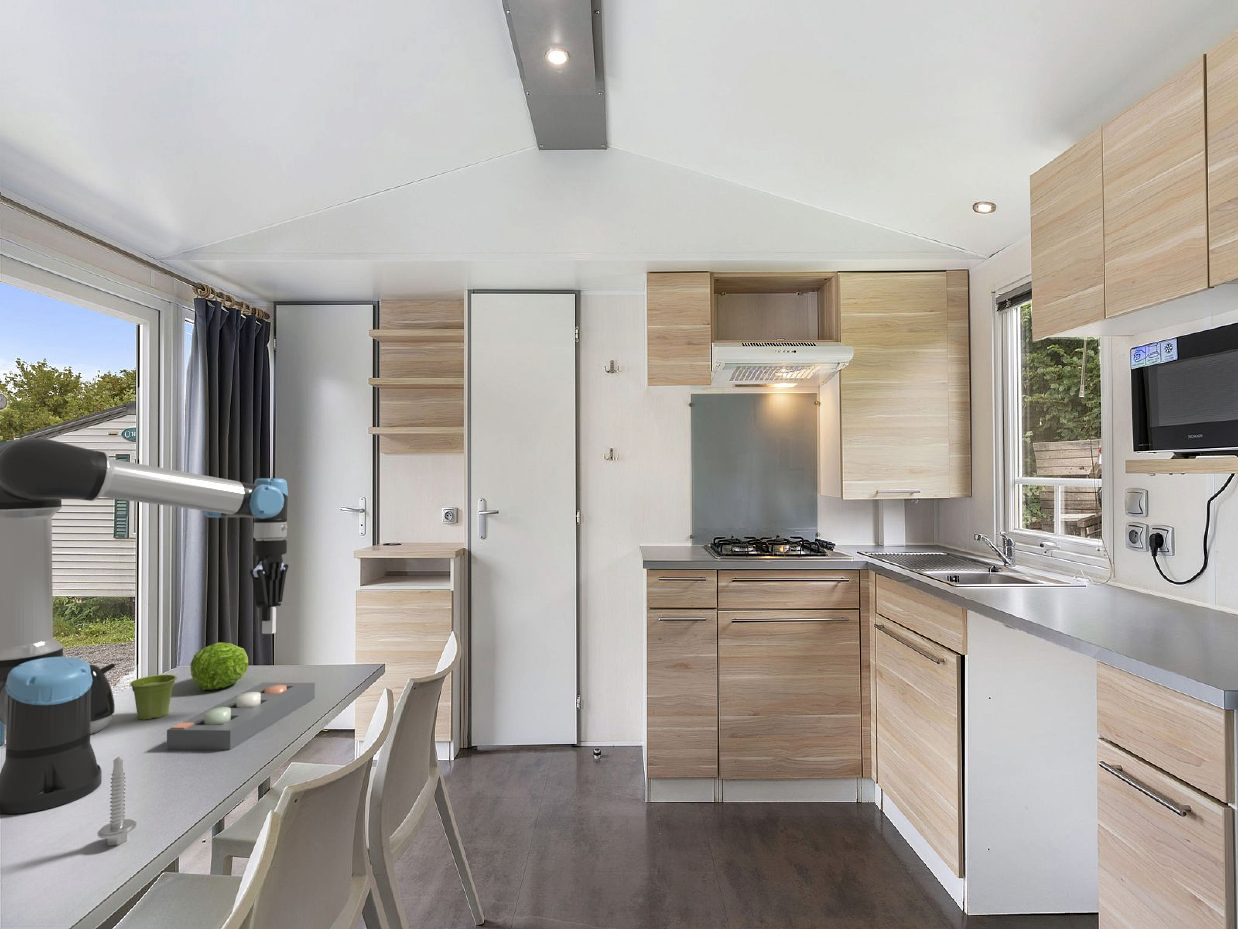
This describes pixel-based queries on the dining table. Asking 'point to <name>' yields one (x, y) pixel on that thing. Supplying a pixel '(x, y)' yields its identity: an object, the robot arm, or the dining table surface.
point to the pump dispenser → (101, 698)
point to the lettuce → (218, 666)
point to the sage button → (217, 716)
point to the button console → (240, 719)
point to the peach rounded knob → (275, 689)
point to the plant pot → (153, 695)
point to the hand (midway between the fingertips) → (268, 633)
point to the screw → (117, 810)
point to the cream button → (248, 700)
